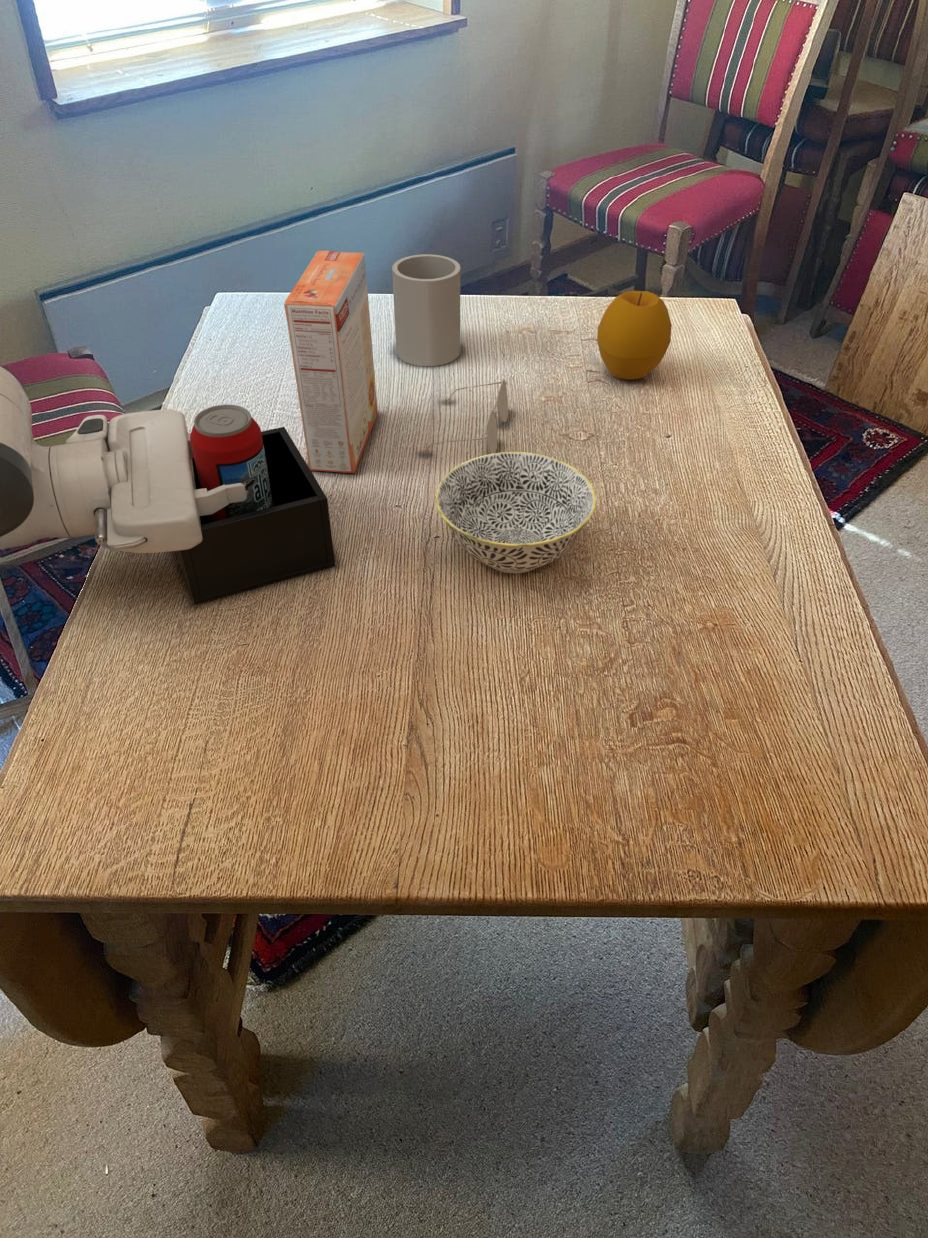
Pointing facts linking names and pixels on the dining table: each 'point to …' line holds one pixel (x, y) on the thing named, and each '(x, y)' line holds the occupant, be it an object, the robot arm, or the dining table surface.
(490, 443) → the sunglasses
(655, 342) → the apple
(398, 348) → the cup
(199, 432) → the beverage can
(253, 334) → the dining table surface
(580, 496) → the bowl
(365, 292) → the cracker box
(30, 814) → the dining table surface
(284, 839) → the dining table surface
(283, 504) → the black open box
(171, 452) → the robot arm
